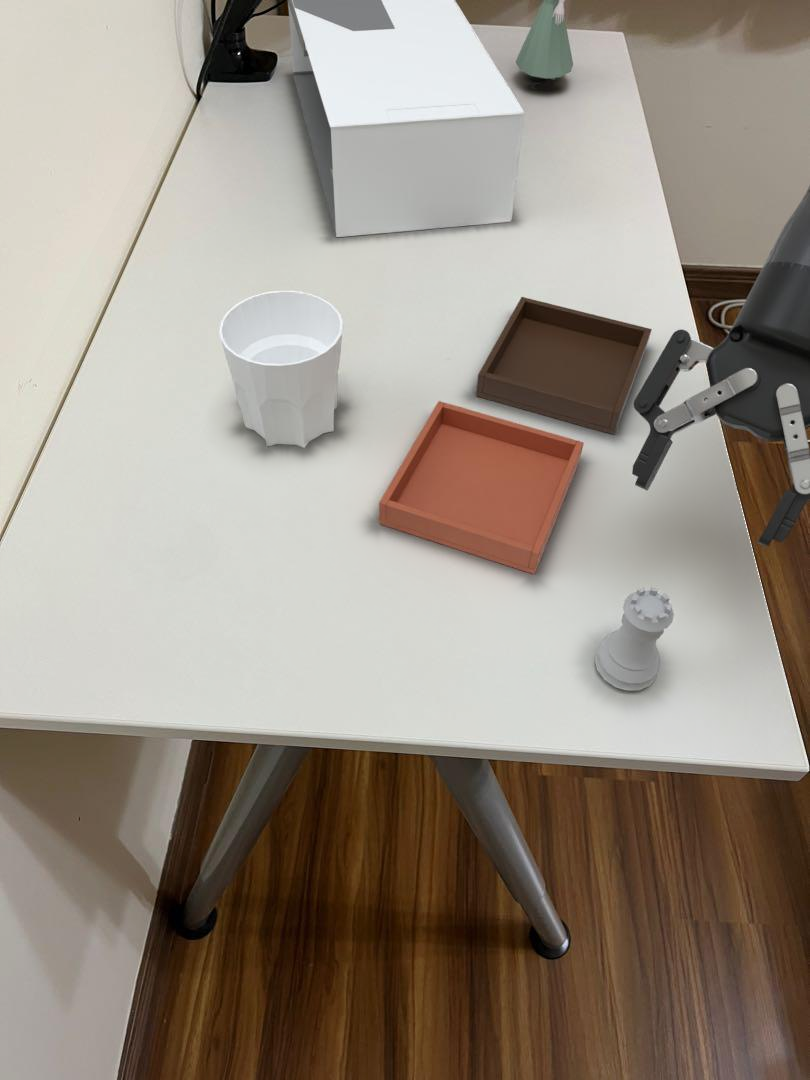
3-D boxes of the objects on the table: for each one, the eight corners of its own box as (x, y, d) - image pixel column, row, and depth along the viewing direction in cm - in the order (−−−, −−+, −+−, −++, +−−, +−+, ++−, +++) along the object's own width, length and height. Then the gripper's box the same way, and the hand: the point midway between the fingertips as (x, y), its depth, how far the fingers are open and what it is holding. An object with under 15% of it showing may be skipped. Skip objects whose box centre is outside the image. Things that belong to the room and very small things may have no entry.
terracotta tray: (578, 463, 74) (584, 442, 72) (534, 574, 66) (539, 554, 64) (437, 422, 77) (438, 400, 75) (379, 524, 69) (378, 502, 67)
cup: (301, 367, 81) (292, 276, 74) (369, 420, 77) (367, 329, 69) (214, 413, 77) (195, 322, 69) (281, 472, 72) (268, 382, 65)
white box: (291, 72, 124) (283, -26, 114) (431, 64, 127) (435, -33, 117) (334, 238, 96) (329, 126, 86) (512, 222, 99) (526, 112, 89)
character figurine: (510, 57, 129) (525, -85, 115) (565, 59, 129) (586, -84, 115) (515, 103, 119) (532, -47, 105) (574, 105, 119) (598, -45, 105)
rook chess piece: (607, 630, 63) (631, 564, 56) (665, 657, 61) (696, 593, 55) (583, 675, 60) (606, 611, 54) (643, 705, 59) (673, 642, 53)
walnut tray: (645, 350, 84) (651, 328, 82) (614, 435, 76) (620, 413, 74) (518, 318, 87) (521, 296, 85) (475, 396, 79) (478, 374, 77)
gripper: (711, 227, 52) (592, 466, 55) (954, 308, 47) (809, 567, 50) (717, 264, 59) (611, 475, 62) (929, 338, 54) (804, 564, 57)
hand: (700, 515), depth 56 cm, fingers open, 8 cm apart
